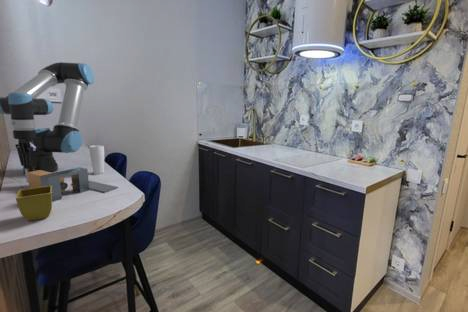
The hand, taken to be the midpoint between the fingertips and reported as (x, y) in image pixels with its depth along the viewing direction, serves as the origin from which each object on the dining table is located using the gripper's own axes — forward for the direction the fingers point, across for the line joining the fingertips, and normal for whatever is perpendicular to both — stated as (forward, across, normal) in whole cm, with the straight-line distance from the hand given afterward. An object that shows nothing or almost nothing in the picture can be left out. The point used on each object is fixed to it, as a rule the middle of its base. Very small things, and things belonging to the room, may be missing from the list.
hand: (31, 181), depth 109 cm
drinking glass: (+2, +6, +28) cm, 29 cm away
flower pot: (+2, +37, -16) cm, 41 cm away
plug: (+2, +13, +1) cm, 13 cm away
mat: (+2, +25, +13) cm, 28 cm away
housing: (+2, +25, +1) cm, 25 cm away
